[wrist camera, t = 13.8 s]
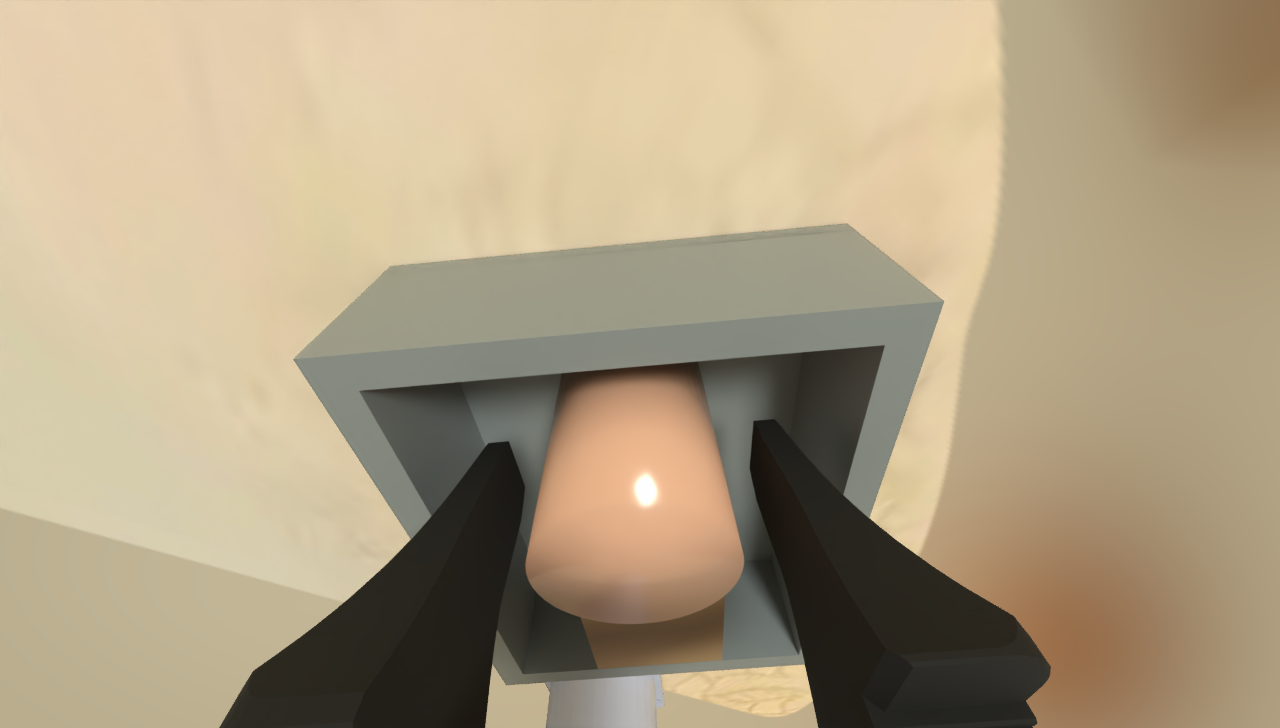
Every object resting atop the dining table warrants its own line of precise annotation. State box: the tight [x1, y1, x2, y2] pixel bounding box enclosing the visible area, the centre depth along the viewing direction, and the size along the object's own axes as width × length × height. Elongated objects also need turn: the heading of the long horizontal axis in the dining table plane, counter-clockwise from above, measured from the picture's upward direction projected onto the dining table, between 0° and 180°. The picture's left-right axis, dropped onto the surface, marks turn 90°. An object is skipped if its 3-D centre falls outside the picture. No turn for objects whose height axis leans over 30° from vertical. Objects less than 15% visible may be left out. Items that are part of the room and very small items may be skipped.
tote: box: [293, 224, 944, 685], centre depth 17 cm, size 18×14×5 cm
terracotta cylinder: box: [525, 361, 744, 624], centre depth 13 cm, size 5×5×7 cm
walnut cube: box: [581, 596, 725, 669], centre depth 19 cm, size 5×5×5 cm
